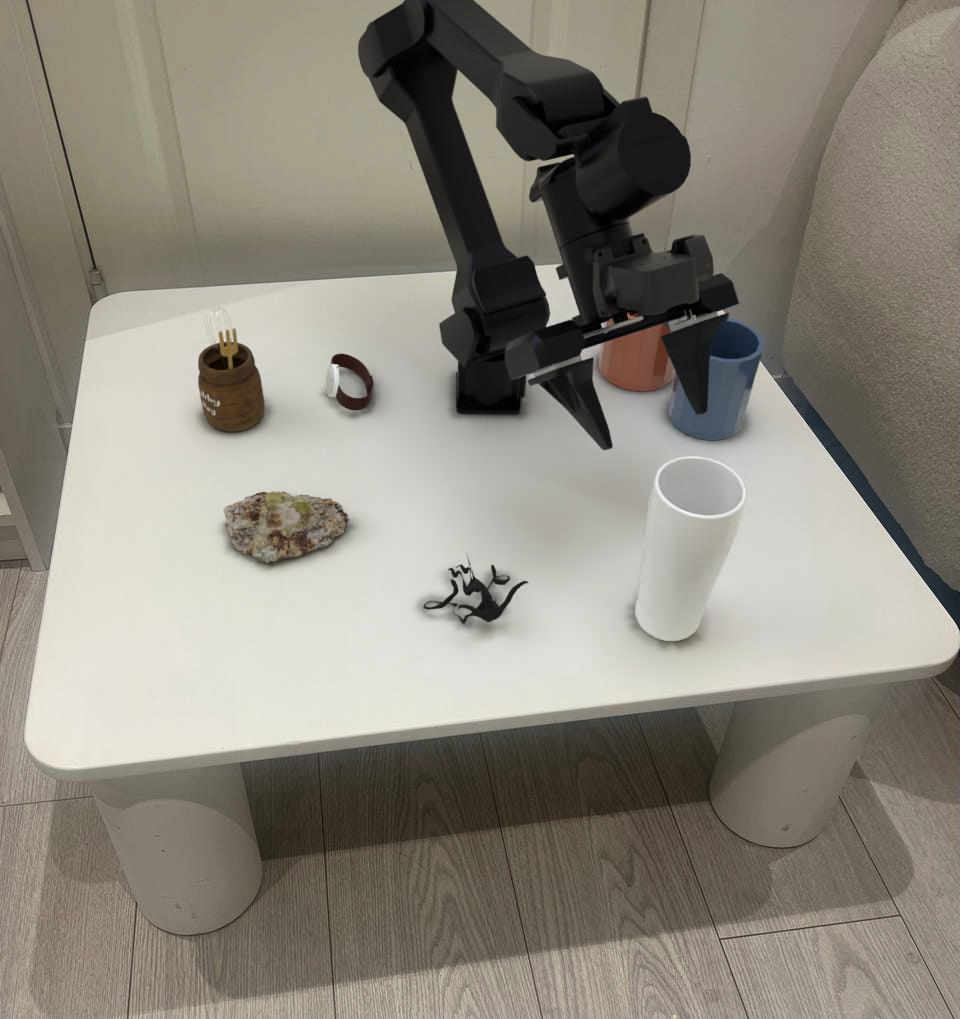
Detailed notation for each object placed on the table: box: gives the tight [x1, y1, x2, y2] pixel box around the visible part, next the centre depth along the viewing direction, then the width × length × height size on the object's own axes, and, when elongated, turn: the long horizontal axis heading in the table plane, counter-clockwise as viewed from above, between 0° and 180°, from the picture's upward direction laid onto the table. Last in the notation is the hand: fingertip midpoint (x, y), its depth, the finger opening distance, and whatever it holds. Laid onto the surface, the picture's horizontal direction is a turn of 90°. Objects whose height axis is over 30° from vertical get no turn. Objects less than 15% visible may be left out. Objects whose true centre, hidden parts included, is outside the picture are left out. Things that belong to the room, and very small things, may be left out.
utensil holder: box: [197, 307, 265, 432], centre depth 96 cm, size 6×6×12 cm
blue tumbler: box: [668, 318, 765, 441], centre depth 99 cm, size 7×7×10 cm
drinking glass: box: [634, 455, 747, 642], centre depth 78 cm, size 7×7×15 cm
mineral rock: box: [223, 490, 350, 564], centre depth 88 cm, size 11×4×8 cm
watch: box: [325, 353, 375, 412], centre depth 102 cm, size 8×5×4 cm, turn 16°
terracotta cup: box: [598, 313, 676, 392], centre depth 105 cm, size 8×8×8 cm
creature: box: [423, 552, 529, 624], centre depth 82 cm, size 8×5×8 cm
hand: (656, 431), depth 79 cm, fingers open, 9 cm apart
